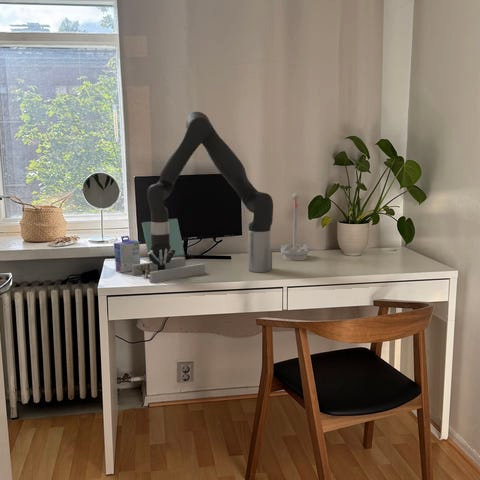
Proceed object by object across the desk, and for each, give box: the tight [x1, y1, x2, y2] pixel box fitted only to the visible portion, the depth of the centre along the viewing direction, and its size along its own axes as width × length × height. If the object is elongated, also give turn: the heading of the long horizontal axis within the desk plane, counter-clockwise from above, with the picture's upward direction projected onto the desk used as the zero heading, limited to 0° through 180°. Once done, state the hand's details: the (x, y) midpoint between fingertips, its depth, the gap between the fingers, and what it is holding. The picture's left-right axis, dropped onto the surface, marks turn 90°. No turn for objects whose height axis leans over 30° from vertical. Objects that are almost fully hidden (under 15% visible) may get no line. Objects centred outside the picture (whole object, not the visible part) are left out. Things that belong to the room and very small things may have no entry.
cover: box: [141, 218, 186, 262], centre depth 267 cm, size 17×17×1 cm
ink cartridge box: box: [113, 235, 141, 273], centre depth 265 cm, size 10×6×14 cm, turn 131°
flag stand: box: [280, 192, 310, 261], centre depth 285 cm, size 13×13×30 cm
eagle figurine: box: [137, 264, 153, 280], centre depth 251 cm, size 8×7×9 cm
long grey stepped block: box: [131, 256, 206, 284], centre depth 258 cm, size 25×17×4 cm
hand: (161, 273), depth 256 cm, fingers closed
